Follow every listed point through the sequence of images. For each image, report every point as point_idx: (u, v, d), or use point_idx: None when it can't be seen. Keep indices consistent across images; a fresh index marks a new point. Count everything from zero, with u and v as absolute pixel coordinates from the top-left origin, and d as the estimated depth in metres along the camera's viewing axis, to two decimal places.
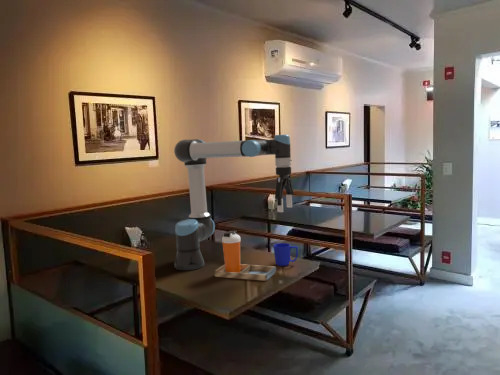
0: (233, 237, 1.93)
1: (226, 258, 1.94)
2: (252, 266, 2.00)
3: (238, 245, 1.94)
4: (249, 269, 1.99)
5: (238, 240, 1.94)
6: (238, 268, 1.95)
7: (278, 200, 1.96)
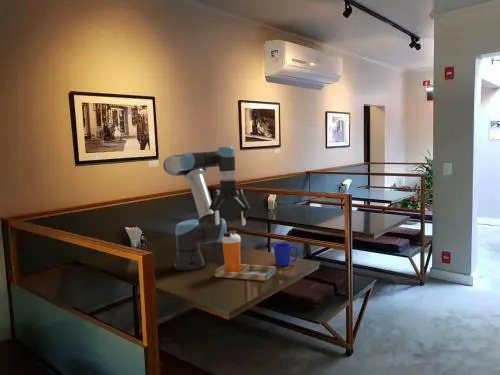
0: (233, 237, 1.93)
1: (226, 258, 1.94)
2: (252, 266, 2.00)
3: (238, 245, 1.94)
4: (249, 269, 1.99)
5: (238, 240, 1.94)
6: (238, 268, 1.95)
7: None
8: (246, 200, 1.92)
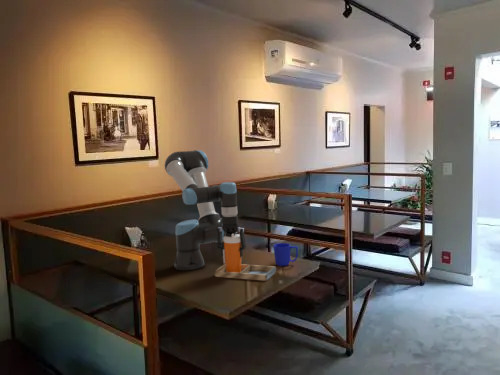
0: (235, 237, 1.92)
1: (227, 258, 1.94)
2: (252, 266, 2.00)
3: (239, 245, 1.94)
4: (249, 269, 1.99)
5: (240, 240, 1.93)
6: (239, 268, 1.95)
7: None
8: (244, 239, 1.95)
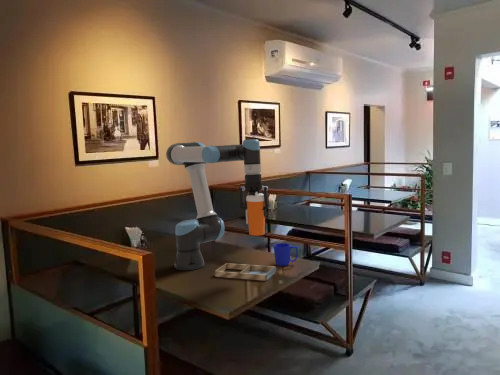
0: (258, 195, 1.85)
1: (250, 217, 1.87)
2: (252, 266, 2.00)
3: (263, 204, 1.87)
4: (249, 269, 1.99)
5: (263, 199, 1.86)
6: (262, 228, 1.88)
7: None
8: (268, 198, 1.88)
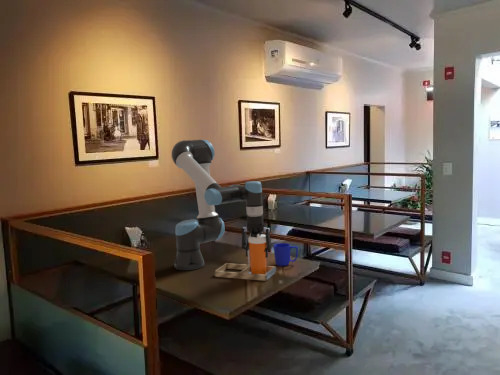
0: (260, 237, 1.87)
1: (252, 259, 1.89)
2: None
3: (265, 246, 1.89)
4: (249, 269, 1.99)
5: (265, 241, 1.88)
6: (264, 269, 1.90)
7: None
8: None
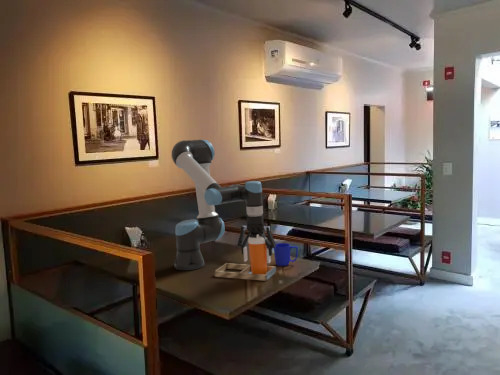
0: (260, 238, 1.88)
1: (252, 259, 1.89)
2: None
3: (265, 246, 1.89)
4: (249, 269, 1.99)
5: None
6: (265, 270, 1.90)
7: None
8: (272, 237, 1.89)
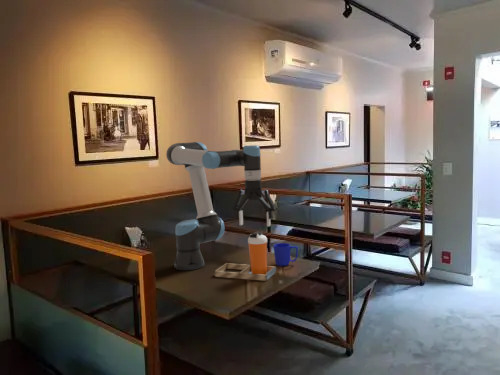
0: (260, 238, 1.88)
1: (252, 259, 1.89)
2: None
3: (265, 246, 1.89)
4: (249, 269, 1.99)
5: (265, 241, 1.89)
6: (265, 270, 1.90)
7: None
8: None
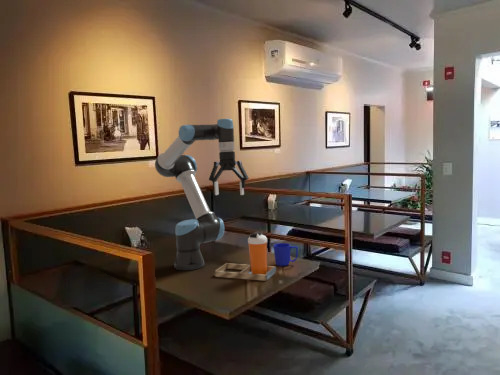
0: (260, 238, 1.88)
1: (252, 259, 1.89)
2: None
3: (265, 246, 1.89)
4: (249, 269, 1.99)
5: (265, 241, 1.89)
6: (265, 270, 1.90)
7: None
8: (244, 171, 1.99)
